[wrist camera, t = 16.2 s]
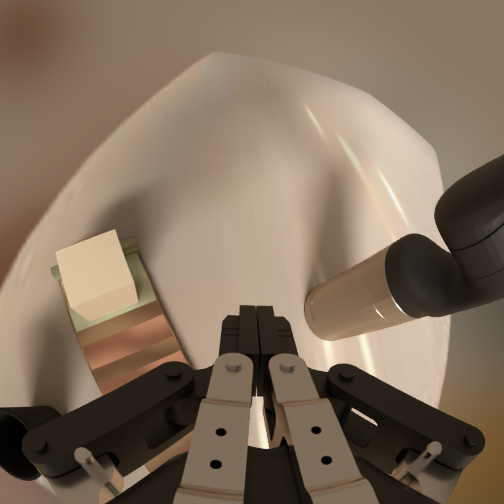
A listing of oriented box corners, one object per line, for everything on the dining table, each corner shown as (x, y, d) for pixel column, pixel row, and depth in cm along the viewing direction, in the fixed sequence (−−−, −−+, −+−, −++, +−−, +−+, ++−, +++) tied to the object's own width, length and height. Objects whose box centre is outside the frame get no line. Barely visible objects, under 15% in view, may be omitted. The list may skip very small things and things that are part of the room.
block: (138, 302, 32) (134, 282, 25) (90, 321, 29) (70, 307, 21) (122, 260, 34) (115, 229, 26) (75, 278, 30) (55, 252, 23)
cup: (20, 396, 22) (-26, 402, 12) (67, 399, 25) (31, 411, 15) (33, 449, 20) (-5, 473, 9) (81, 453, 22) (54, 486, 12)
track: (232, 439, 30) (242, 447, 27) (154, 476, 25) (155, 487, 21) (136, 247, 36) (134, 235, 33) (59, 277, 31) (50, 267, 27)
